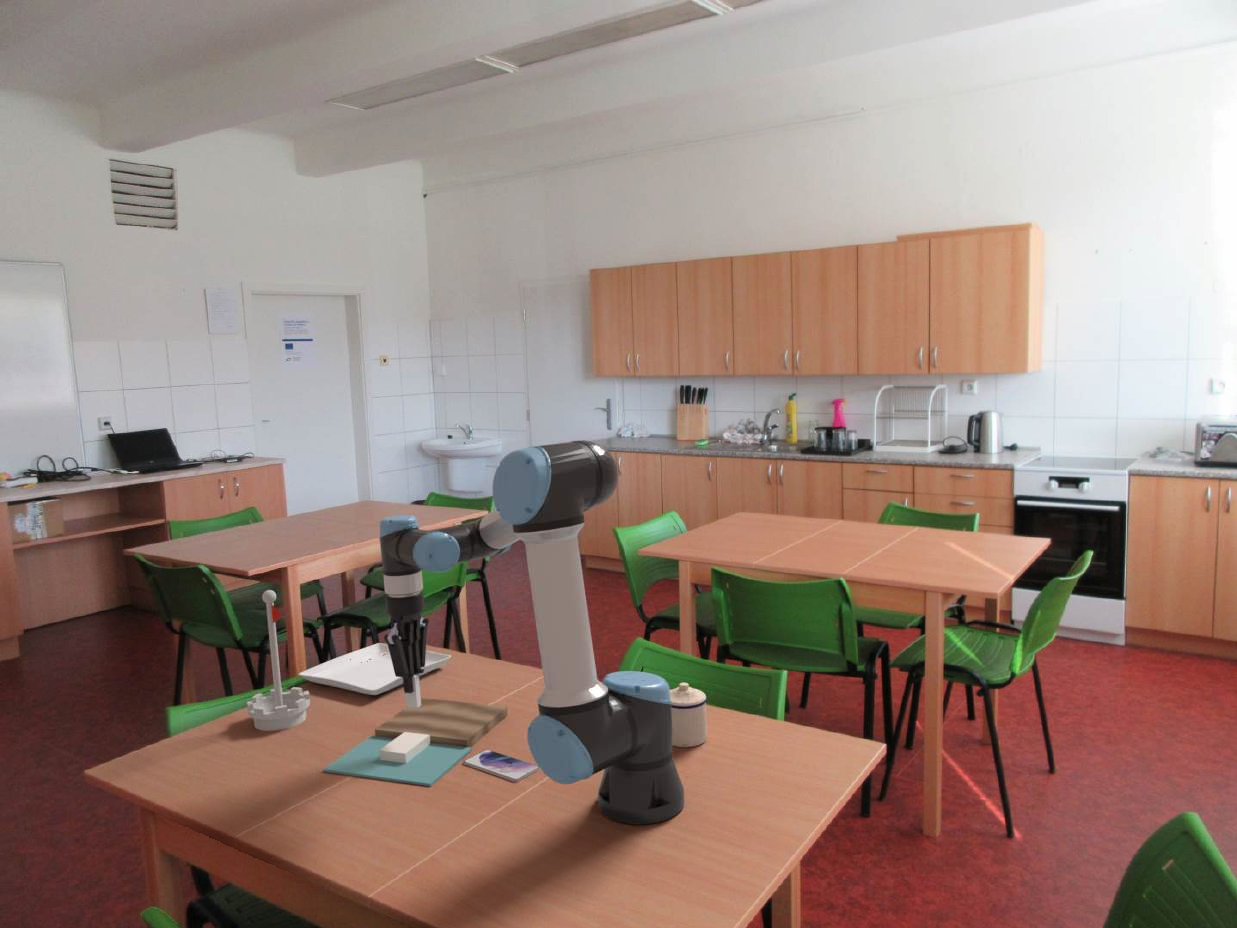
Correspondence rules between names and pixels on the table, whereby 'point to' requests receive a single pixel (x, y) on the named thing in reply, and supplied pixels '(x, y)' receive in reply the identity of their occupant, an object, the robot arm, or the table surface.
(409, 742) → the ceramic tile
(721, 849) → the table surface
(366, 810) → the table surface
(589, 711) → the robot arm
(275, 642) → the flag stand
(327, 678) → the square plate
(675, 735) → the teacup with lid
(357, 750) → the teal mat
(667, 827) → the table surface
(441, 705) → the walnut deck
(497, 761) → the smartphone
